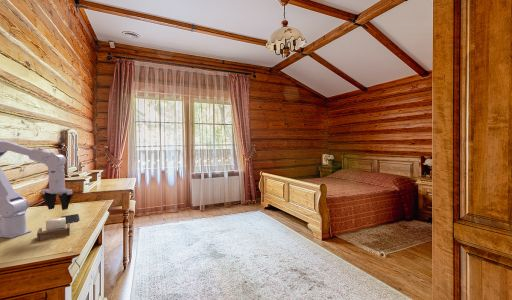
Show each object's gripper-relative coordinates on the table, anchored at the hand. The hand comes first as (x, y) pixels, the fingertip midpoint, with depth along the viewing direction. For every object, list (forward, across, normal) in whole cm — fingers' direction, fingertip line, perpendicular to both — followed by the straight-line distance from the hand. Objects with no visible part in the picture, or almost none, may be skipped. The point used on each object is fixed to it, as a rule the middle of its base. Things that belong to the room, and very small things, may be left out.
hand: (58, 209), depth 113 cm
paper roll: (+8, -4, +2) cm, 9 cm away
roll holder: (+10, +4, -5) cm, 12 cm away
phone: (+11, -11, +15) cm, 22 cm away
